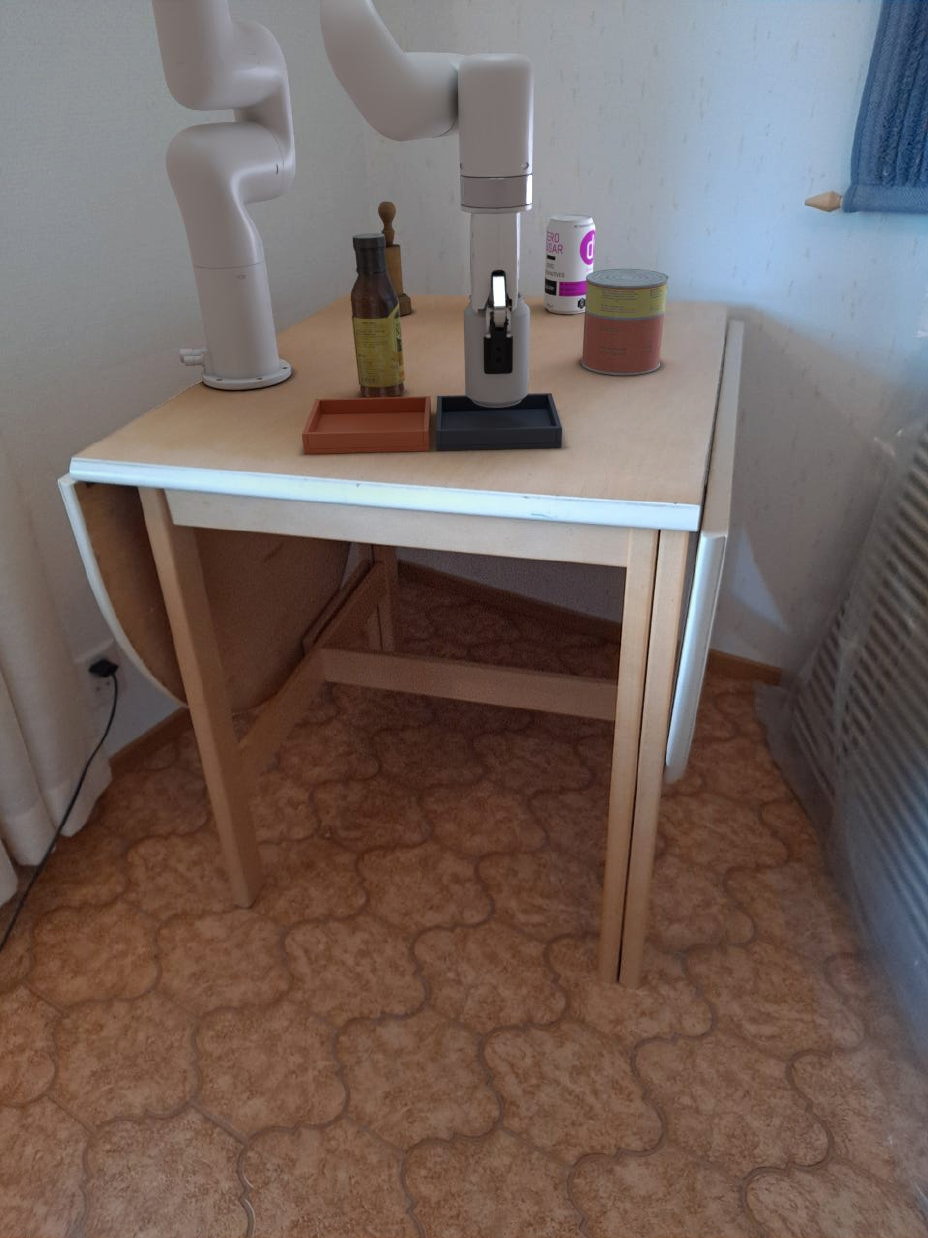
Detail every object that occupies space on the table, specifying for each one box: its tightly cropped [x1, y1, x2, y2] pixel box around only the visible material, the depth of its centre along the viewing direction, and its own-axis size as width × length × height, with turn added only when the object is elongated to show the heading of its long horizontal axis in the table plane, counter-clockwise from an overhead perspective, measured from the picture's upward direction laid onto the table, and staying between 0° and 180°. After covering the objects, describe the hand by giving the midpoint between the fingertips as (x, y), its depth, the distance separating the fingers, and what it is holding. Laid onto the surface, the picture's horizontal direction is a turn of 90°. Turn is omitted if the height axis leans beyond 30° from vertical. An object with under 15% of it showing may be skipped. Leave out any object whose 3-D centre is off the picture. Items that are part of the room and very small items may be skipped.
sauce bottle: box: [350, 232, 406, 398], centre depth 111 cm, size 7×6×20 cm
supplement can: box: [543, 213, 596, 315], centre depth 149 cm, size 8×8×15 cm
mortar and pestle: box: [377, 200, 412, 317], centre depth 149 cm, size 7×6×18 cm
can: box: [463, 291, 531, 408], centre depth 99 cm, size 8×8×12 cm
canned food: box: [581, 268, 670, 377], centre depth 122 cm, size 11×11×12 cm
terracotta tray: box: [301, 395, 432, 455], centre depth 104 cm, size 14×12×2 cm
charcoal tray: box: [435, 392, 563, 452], centre depth 104 cm, size 14×12×2 cm
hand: (496, 361), depth 100 cm, fingers closed on can, 7 cm apart
